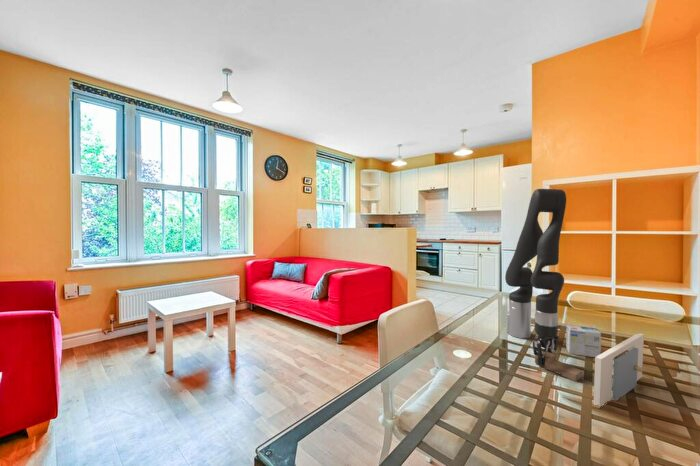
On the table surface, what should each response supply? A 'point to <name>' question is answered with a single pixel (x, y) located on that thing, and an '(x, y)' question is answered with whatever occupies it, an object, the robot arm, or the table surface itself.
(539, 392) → the table surface
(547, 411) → the table surface
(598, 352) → the light bulb box
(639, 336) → the wall frame
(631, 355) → the door
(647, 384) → the table surface
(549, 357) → the block
